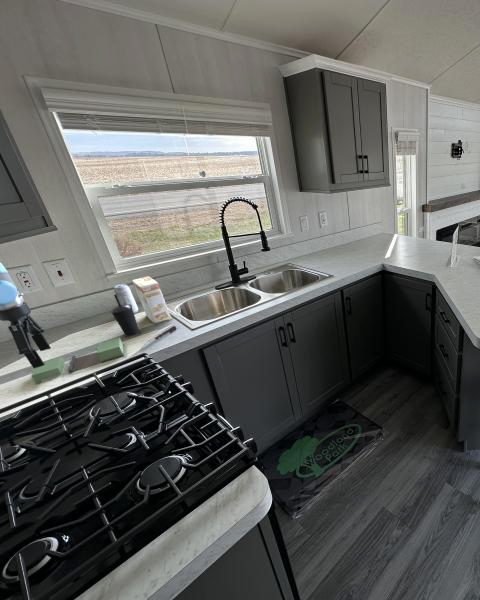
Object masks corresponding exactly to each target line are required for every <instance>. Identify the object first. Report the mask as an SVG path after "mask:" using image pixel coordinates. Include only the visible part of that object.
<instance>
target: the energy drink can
mask: <svg viewBox="0 0 480 600" xmlns="http://www.w3.org/2000/svg"><path fill="white" fill-rule="evenodd" d="M113 288H114V289H113V292H114V295H116V296H117V298H118V300H119V302H120V305H123V304H130V305H132V309H133V312H134V314H136V313H137V312H138V311H139V307H138V305H137V303H136V300H135V297H134V295H133V293H132V291H131V288H130V286H128V285H127V284H126V283H122V284H121V283H120V284H117V285H114V287H113Z"/></svg>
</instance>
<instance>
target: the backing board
mask: <svg viewBox="0 0 480 600" xmlns="http://www.w3.org/2000/svg"><path fill="white" fill-rule="evenodd" d="M122 344H123V355H122V356H118V357H115V358H112V359H109V360H105V361H102V362H101V361H100V359H99V357H98V355H97V351H95V352H92V353H88V354H85V355H81V356H78V357H77V356H76V355H75V354H74V355H72V356H71V358H70V359H71V360H70V363H69V367H68V372H69V374H72V373H76V372H79V371H82V370H85V369H88V368H93V367H95V366H98V365H102V364H105V363H109V362H111V361H115V360H117V359H121V358H124V357H125V343H122Z"/></svg>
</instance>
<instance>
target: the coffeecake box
mask: <svg viewBox="0 0 480 600" xmlns="http://www.w3.org/2000/svg"><path fill="white" fill-rule="evenodd" d="M131 281H132V284H133V286H134V289H135V291H136V293H137V296H138V298H139V301H140V303H141V306H142V308H143V310H144V312H145V313H144V314H145V315H146V317H147V318H148V320H150V321H151V322H152V323H155V324H156V323H160V322H162V321H166V322H168V321H170V320H172V316H171V313H170V312H169V309H168V305H167V302H166V301H165V297H164V295H163V292H162V290H161V287H160V284H159V282H158V281H156V280H154V279H153V278H152V277H150V276H148V275H147V276H143V277H140V278H136V279H135V278H134V279H132V280H131Z"/></svg>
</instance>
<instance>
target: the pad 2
mask: <svg viewBox="0 0 480 600" xmlns="http://www.w3.org/2000/svg"><path fill="white" fill-rule="evenodd" d="M123 344H124V343H123V342H122V340H121V337H116V338H113V339H109V340H106V341H105V340H104V341H101V342H98V343H97V348H96V352H97V355H98V357H99V359H100V361H101V362H102V361H105V360H109V359H112V358H115V357H118V356H122V355H123Z"/></svg>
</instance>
